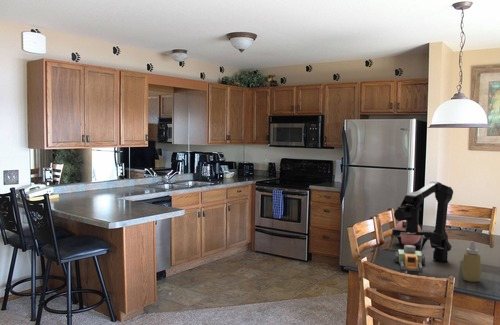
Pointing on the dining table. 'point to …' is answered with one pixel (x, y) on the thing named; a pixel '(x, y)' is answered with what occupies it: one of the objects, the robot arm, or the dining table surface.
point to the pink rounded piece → (408, 238)
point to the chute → (411, 264)
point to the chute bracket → (411, 269)
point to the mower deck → (409, 250)
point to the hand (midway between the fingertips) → (411, 250)
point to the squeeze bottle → (471, 264)
